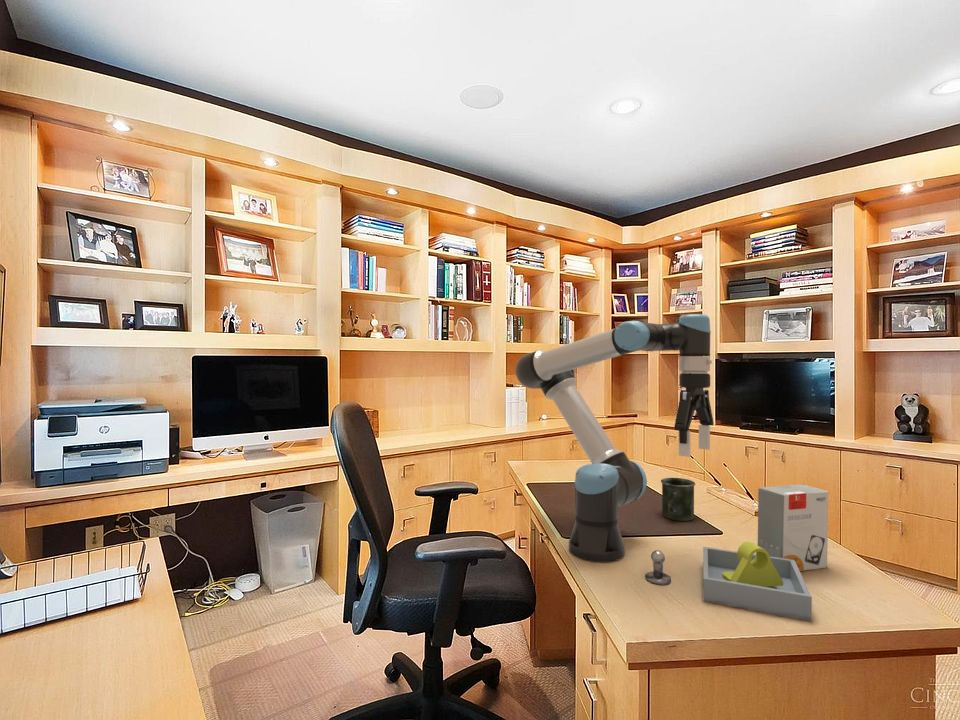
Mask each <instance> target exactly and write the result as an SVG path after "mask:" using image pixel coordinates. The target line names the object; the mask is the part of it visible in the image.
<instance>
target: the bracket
mask: <svg viewBox="0 0 960 720" xmlns="http://www.w3.org/2000/svg"><path fill="white" fill-rule="evenodd" d="M736 551H737V556H738V559H739V560H740V563H739V565H738V566H737V568H736V570H735V571H733V572H723V573H722V577H723V579H725V580H726V581H732V582H738V583H744V584H750V585H756V586H762V587H768V588H774V586H783V581H782V579H781V577H780V575H779V574H778V572H777V570H776V568H775V567H774V565H773V563H772V561H771V558H770V555H769V553H768V552H767V551H766V550H764V549H763V548H761V547H759V546H758V545H757V544H755V543H754V542H752V541H745V542H743V543H741V544H740V545H739V547H738V549H737V550H736ZM753 554H756V557H755V558H754V559H753V560H752V561H751V558H752V556H753Z"/></svg>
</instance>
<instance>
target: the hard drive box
mask: <svg viewBox="0 0 960 720" xmlns="http://www.w3.org/2000/svg"><path fill="white" fill-rule="evenodd" d="M757 492H758V493H757V494H758V495H757V497H758V499H757V500H758V501H757V503H758V504H757V508H758V509H757V544H756V545H758V546H759V547H761V548H763V549H764V550H766V551H767V552H768V553H769V555H770V556H771V557H778V558H785V559H791V560H795V562H796V565H797V567H798V569H799V571H800V572H803V571H811V570H813V571H814V570H820V569H825V568H828V547H829V546H828V545H829V543H828V536H829V535H828V534H829V533H828V530H829V494H830V493H829V492H830V491H829V490H824V489H822V488H817V487H814V486H810V485H806V484H789V485H777V486H775V485H774V486H763V487H759V488H758V491H757Z"/></svg>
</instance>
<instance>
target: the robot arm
mask: <svg viewBox="0 0 960 720" xmlns="http://www.w3.org/2000/svg"><path fill="white" fill-rule="evenodd" d="M711 334H712V331H711V323H710V317H709V316H708V315H707V314H703V313H701V314H699V313H695V314H694V313H693V314H682V315H681V316H679V321H678V322H676V323H675V322H674V323H651V322H641V321H638V320H628V321H624V322H621V323H620V324H619V325H617V327H616V328H612V329H609V330H606V331H603V332H600V333H597V334H594V335H592V336H588V337H586V338H582V339H579V340H576V341H573V342H570V343H568V344H564V345H561V346H558V347H556V348H552V349H549V350H543V349H539V350H535V351H532V352H529V353H525V354H524V355H522V356H521V357H520V358H519V359H518V361H517V362H516V365H515V372H514V373H515V376H516V379H517V381H518V382H519V383H520V384H521V385H522V386H524V387H525V388H529V389H534V390H535V389H540V390H541V391H542V393H543V395H544V396H545V398H546V399H548V400H552V401H553V402H554V404H555V406H556V407H557V409H558V410H559V413H560V414H561V416H562V417H563V419H564V420H565V421H566V424H567V425H568V427H569V428H570V430H571V432H572V434H573V435H574V436H575V438H576V440H577V442H578V443H579V445H580V446H581V448H582V450H583V452H584V453H585V455H586V456H587V458H588V460H589V461H590V463H588V464H585V465H582V466H579V468H578V469H577V470H576V471H575V478H574V508H575V509H574V513H575V515H574V516H575V517H574V519H575V520H574V524H573V528H572V532H571V534H570V537H569V539H568V540H569V541H568V551H569V552H570V554H571V555H573V556H574V557H576V558H578V559H581V560H584V561H590V562H596V563H610V562H616V561H619V560H621V559H623V558H624V557H625V553H626V547H625V543H624V540H623V536H622V534H621V531H620V527H619V508H620V507H624V506H625V505H628V504H631V503H633V502H635V501H637V500H638V499H640V498H641V497H642V496H643V495H644V493H645V491H646V490H647V484H648V482H647V481H648V480H647V476H646V472H645V471H644V468H643V467H642V466H641V465H640V464H639V463H637V462H635V461H632V460H630V459H629V457H628V456H627V454H626V453H625V452H624V450H620V449H617V448H616V447H615V445H614V444H613V442H612V441H611V439H610V437H609V435H608V434H607V433H606V431H605V430H604V428H603V427H602V425H601V424H600V423H599V421H598V419H597V417H596V415H595V414H594V413H593V411H592V410H591V409H590V407H589V405H588V404H587V402H586V400H585V399H584V398H583V396H582V394H581V393H580V391H579V390H578V388H577V386H576V385H577V383H578V381H577V380H578V379H577V378H576V373H575V372H576V369H579V368H582V367H586V366H589V365H592V364H596V363H599V362H604V361H607V360H610V359H614V358H616V357H620V356H623V355H628V354H631V353H636V352H638V351H639V352H640V351H641V352H665V351H669V352H670V351H677V352H678V351H679V358H678V359H679V360H678V361H679V363H678V366H679V368H678V370H679V372H681V373H679V375H678V376H679V387H680V388H685V391H680V392H679V401H678V406H677V412H676V417H675V422H674V430H675V431H678V456H679V457H680V456H682V457H688V458H689V457H690V458H691V430H690V427H691V423H692V420H693V417H694V414H695V413H696V415H697V417H698V418H697V419H698V421H699V425H698V449H699V450H711V439H710V438H711V426H712V427H713V426H714V418H713V412H712V407H711V402H710V394H709V392H710V391H709V388H710V387H711V374H710V373H708V372H710V371H711V364H713V361H712V360H711Z"/></svg>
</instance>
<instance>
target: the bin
mask: <svg viewBox="0 0 960 720" xmlns="http://www.w3.org/2000/svg"><path fill="white" fill-rule="evenodd" d="M702 547H703V548H702V553H703V554H702V555H703V556H702V559H703V561H702V566H703V567H702V576H703V577H702V579H703V580H702V581H703V583H702V584H703V586H702V588H703V602H706V603H712V604H718V605H723V606H727V607H728V606H729V607H733V608H738V609H743V610H748V609H749V610H748V611H756V612H759V613H765V614H769V615H770V614H771V615H776V616H781V617H787V618H792V619H796V620H797V619H798V620H803V621H806V622H807V621H808V622H813V621H812V614H813V612H812V607H813V606H812V595H811V593H810V591H809V589H808V586H807V583H806V582H805V579H804V578H803V575H802V573H801V571H799V569H798V567H797V565H796V562H795V560H791V559H785V558H778V557H771V556H770V558H771V561H772V563H773V565H774V567H775V568H776V570H777V572H778V574H779V575H780V577H781V579H782V581H783V586H774V588H768V587H762V586H756V585H750V584H744V583H738V582H732V581H726V580H725V579H723V577H722V573H723V572H733V571H735V570H736V568H737V566H738V565H739V563H740V560H739V559H738V556H737V551H738V550H736V551H735V550H730V549H728V550H727V549H721V548H714V547H708V546H702ZM755 557H756V553H754V554H753V556H752V558H751V561H752V560H753V559H754V558H755Z"/></svg>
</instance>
